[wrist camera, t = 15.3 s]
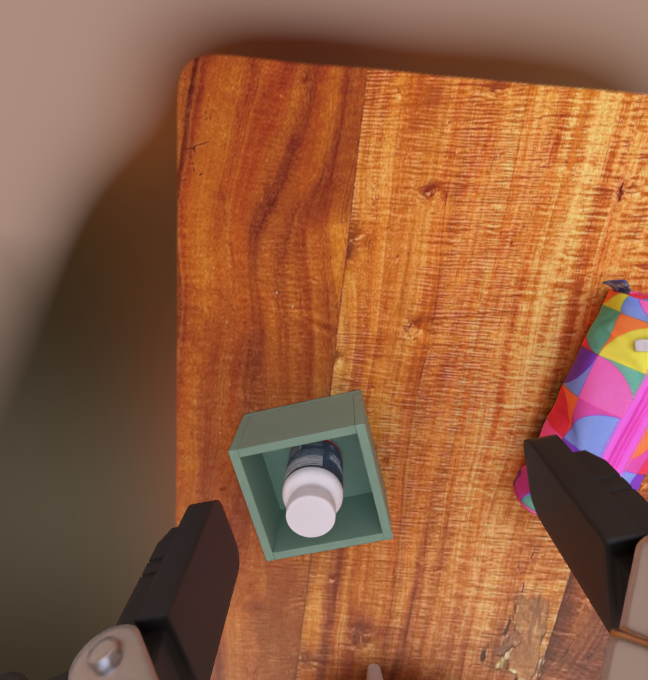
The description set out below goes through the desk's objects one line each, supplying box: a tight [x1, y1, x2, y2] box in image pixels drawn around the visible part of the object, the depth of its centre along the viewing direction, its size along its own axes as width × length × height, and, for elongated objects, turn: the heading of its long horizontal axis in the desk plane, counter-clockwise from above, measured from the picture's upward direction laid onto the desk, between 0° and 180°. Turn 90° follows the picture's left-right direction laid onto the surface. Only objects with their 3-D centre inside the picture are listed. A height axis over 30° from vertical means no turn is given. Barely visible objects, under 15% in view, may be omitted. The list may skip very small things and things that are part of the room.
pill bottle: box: [282, 439, 343, 537], centre depth 41 cm, size 5×5×9 cm
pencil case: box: [513, 280, 648, 515], centre depth 39 cm, size 22×9×9 cm, turn 165°
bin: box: [228, 390, 393, 561], centre depth 43 cm, size 12×12×7 cm
